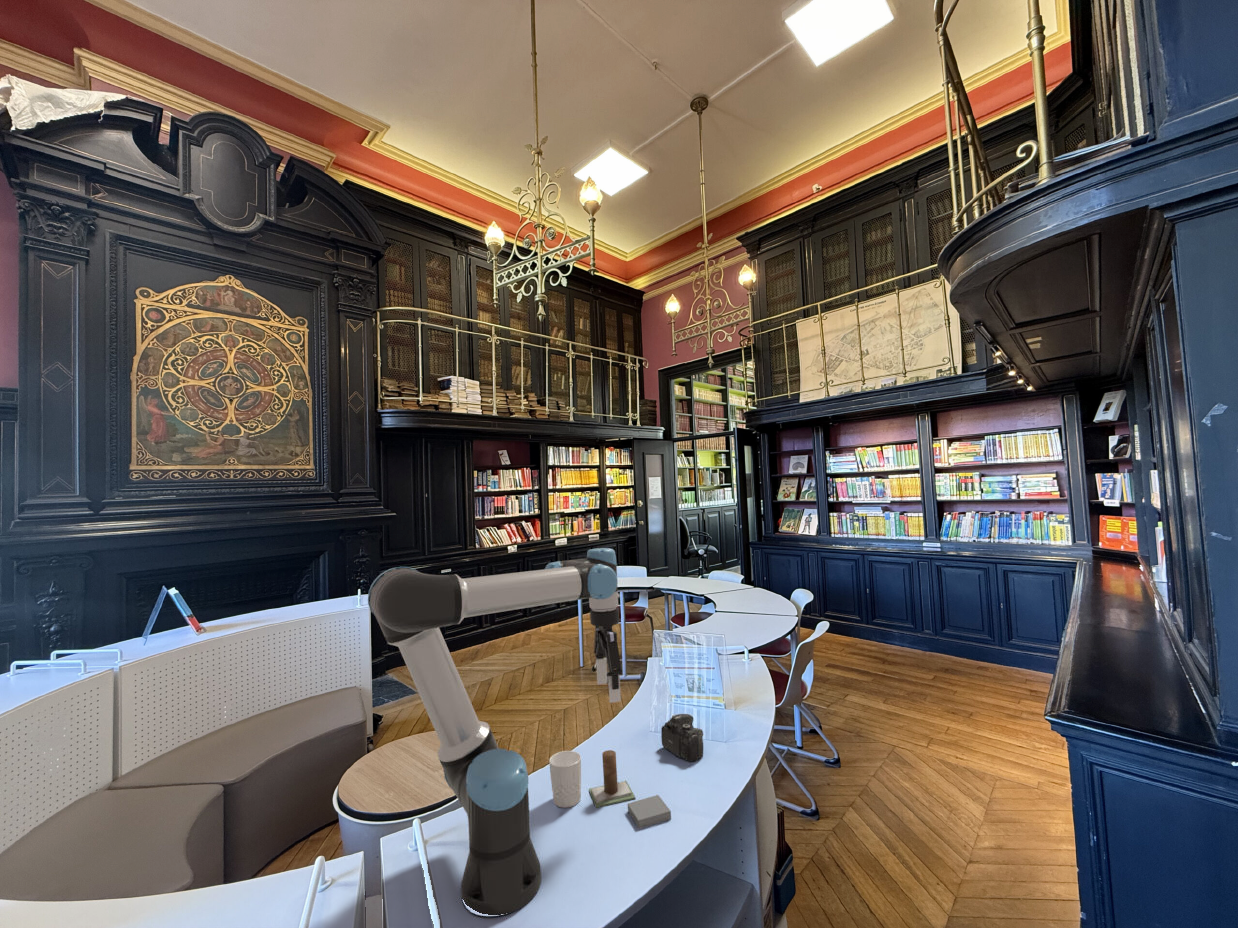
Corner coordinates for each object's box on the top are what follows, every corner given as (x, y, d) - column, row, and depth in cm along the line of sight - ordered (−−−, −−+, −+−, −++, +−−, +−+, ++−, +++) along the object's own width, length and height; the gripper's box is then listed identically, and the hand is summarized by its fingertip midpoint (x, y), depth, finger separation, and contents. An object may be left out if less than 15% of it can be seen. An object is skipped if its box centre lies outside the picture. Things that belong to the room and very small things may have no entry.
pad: (596, 807, 122) (595, 806, 122) (589, 790, 130) (588, 788, 130) (635, 798, 125) (635, 797, 125) (626, 781, 133) (626, 780, 133)
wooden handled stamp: (596, 803, 124) (594, 762, 124) (591, 791, 129) (589, 751, 130) (631, 794, 126) (629, 754, 127) (625, 783, 132) (622, 745, 132)
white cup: (589, 797, 127) (587, 756, 127) (565, 813, 121) (563, 769, 122) (568, 787, 132) (566, 747, 133) (544, 801, 126) (542, 760, 127)
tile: (628, 812, 120) (639, 830, 114) (627, 803, 121) (638, 820, 114) (658, 803, 123) (671, 820, 117) (658, 794, 123) (670, 810, 117)
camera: (711, 749, 147) (709, 714, 148) (695, 765, 139) (692, 727, 140) (672, 739, 155) (669, 705, 156) (654, 753, 147) (652, 717, 148)
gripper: (631, 616, 121) (636, 707, 120) (606, 598, 145) (610, 674, 144) (601, 619, 119) (605, 712, 118) (581, 601, 143) (584, 678, 142)
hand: (608, 692), depth 131 cm, fingers open, 13 cm apart
